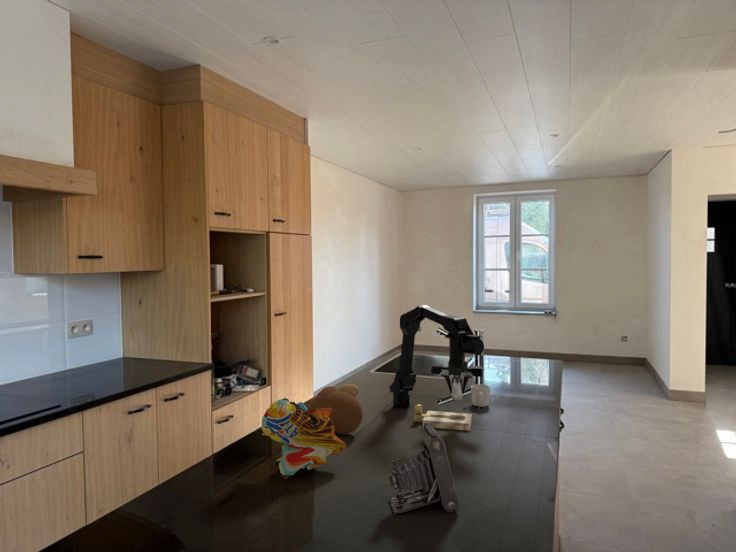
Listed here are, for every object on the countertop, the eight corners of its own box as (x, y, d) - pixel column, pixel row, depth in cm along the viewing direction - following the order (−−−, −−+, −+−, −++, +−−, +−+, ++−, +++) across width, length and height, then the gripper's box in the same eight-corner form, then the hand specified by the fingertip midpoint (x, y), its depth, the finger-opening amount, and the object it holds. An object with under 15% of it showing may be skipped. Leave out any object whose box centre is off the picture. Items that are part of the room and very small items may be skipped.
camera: (391, 511, 132) (371, 438, 131) (453, 491, 133) (434, 419, 132) (398, 534, 121) (376, 454, 120) (465, 512, 123) (444, 434, 121)
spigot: (450, 399, 188) (451, 374, 188) (452, 396, 192) (452, 372, 192) (461, 400, 187) (462, 375, 187) (462, 397, 191) (463, 373, 191)
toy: (304, 441, 186) (347, 461, 175) (287, 416, 176) (332, 436, 165) (339, 391, 199) (381, 407, 188) (325, 365, 189) (369, 380, 178)
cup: (490, 410, 207) (490, 391, 207) (470, 409, 209) (470, 390, 208) (489, 403, 218) (490, 384, 217) (470, 402, 219) (470, 383, 219)
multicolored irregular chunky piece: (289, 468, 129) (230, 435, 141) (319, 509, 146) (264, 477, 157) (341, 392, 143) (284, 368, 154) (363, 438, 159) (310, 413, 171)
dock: (422, 426, 187) (422, 420, 187) (427, 417, 199) (427, 410, 199) (469, 430, 183) (469, 423, 183) (472, 420, 194) (472, 413, 194)
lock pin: (414, 421, 193) (414, 405, 193) (415, 419, 196) (415, 403, 195) (430, 422, 191) (429, 406, 191) (431, 420, 194) (431, 404, 194)
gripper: (428, 354, 184) (428, 397, 184) (481, 356, 179) (481, 400, 179) (433, 348, 195) (433, 389, 195) (483, 351, 189) (483, 392, 190)
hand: (457, 393), depth 190 cm, fingers closed on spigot, 4 cm apart
